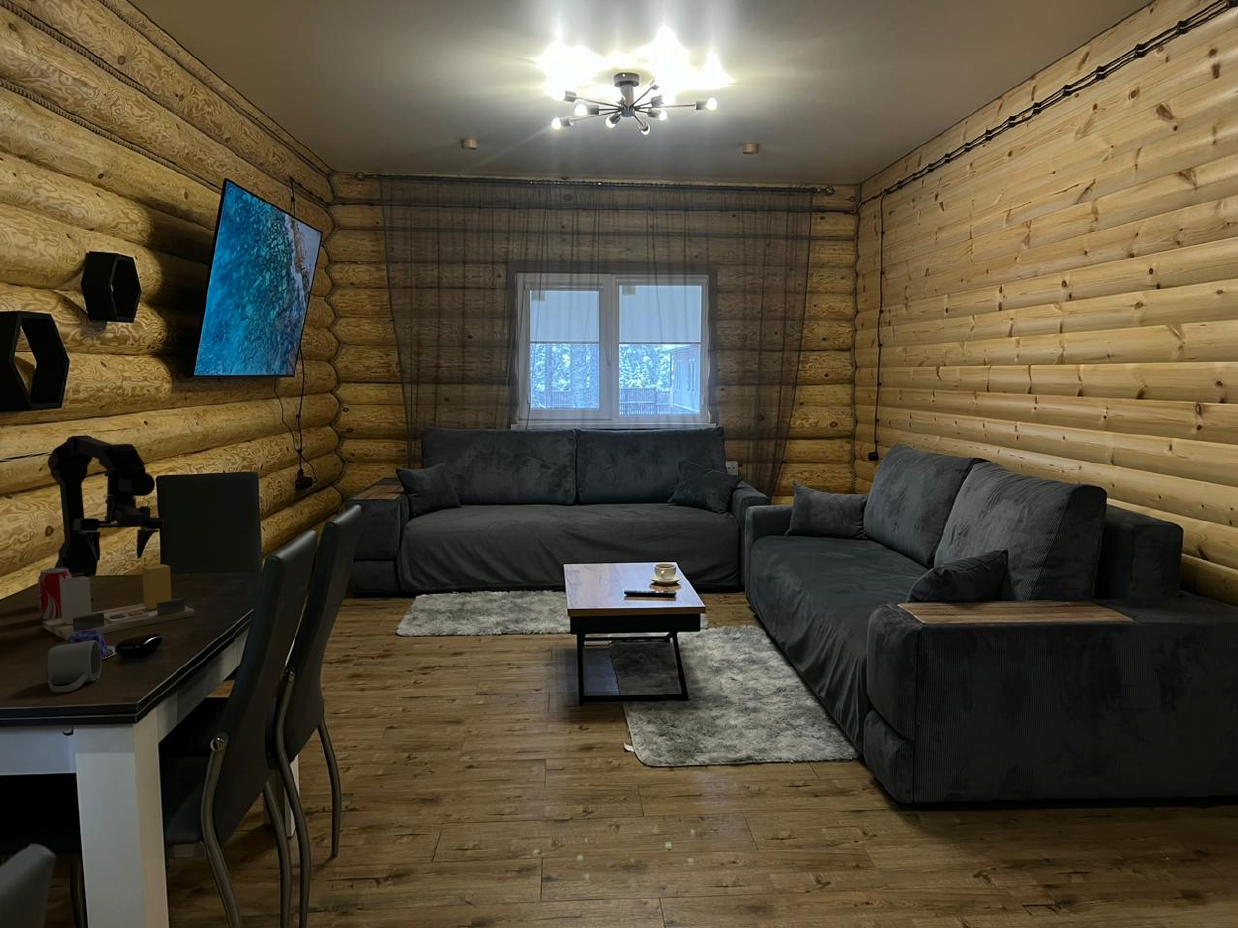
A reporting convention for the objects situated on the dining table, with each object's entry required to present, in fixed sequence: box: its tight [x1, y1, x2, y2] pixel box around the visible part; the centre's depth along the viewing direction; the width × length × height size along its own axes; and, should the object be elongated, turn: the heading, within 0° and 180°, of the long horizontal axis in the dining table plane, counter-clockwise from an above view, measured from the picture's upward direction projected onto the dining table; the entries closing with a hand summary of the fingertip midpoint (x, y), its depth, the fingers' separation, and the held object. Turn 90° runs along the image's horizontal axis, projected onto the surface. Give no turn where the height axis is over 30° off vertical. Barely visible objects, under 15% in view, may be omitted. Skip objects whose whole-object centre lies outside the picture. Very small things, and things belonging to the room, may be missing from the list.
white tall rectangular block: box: [60, 576, 93, 625], centre depth 203 cm, size 4×5×10 cm
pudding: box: [67, 630, 117, 660], centre depth 182 cm, size 12×12×5 cm
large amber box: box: [141, 563, 173, 610], centre depth 216 cm, size 4×5×10 cm
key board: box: [42, 597, 195, 641], centre depth 209 cm, size 16×28×4 cm, turn 139°
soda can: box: [37, 567, 72, 621], centre depth 212 cm, size 7×7×12 cm
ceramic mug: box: [43, 640, 102, 694], centre depth 165 cm, size 11×8×8 cm
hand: (118, 559), depth 212 cm, fingers open, 9 cm apart
